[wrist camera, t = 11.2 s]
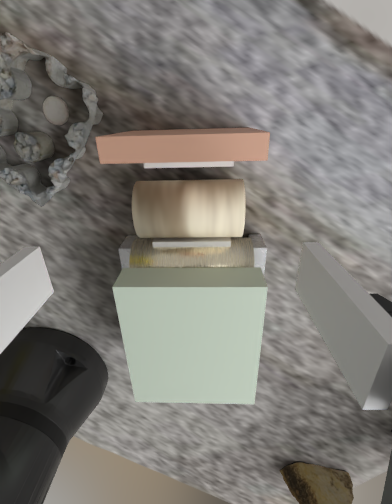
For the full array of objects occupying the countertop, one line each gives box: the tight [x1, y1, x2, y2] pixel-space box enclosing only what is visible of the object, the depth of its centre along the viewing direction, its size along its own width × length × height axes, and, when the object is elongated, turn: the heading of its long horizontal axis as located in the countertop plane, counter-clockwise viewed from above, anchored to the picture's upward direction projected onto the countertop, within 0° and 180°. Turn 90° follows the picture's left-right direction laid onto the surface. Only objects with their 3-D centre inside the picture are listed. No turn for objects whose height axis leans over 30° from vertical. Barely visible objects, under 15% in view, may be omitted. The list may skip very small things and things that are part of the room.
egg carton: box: [0, 33, 103, 207], centre depth 22 cm, size 11×8×4 cm
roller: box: [132, 179, 245, 238], centre depth 24 cm, size 9×5×5 cm, turn 92°
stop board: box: [95, 128, 270, 164], centre depth 19 cm, size 10×2×8 cm, turn 91°
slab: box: [112, 267, 268, 404], centre depth 25 cm, size 12×14×3 cm
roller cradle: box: [144, 161, 234, 247], centre depth 24 cm, size 7×8×4 cm
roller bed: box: [119, 234, 267, 276], centre depth 28 cm, size 14×16×5 cm
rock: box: [280, 462, 354, 504], centre depth 44 cm, size 11×9×10 cm
